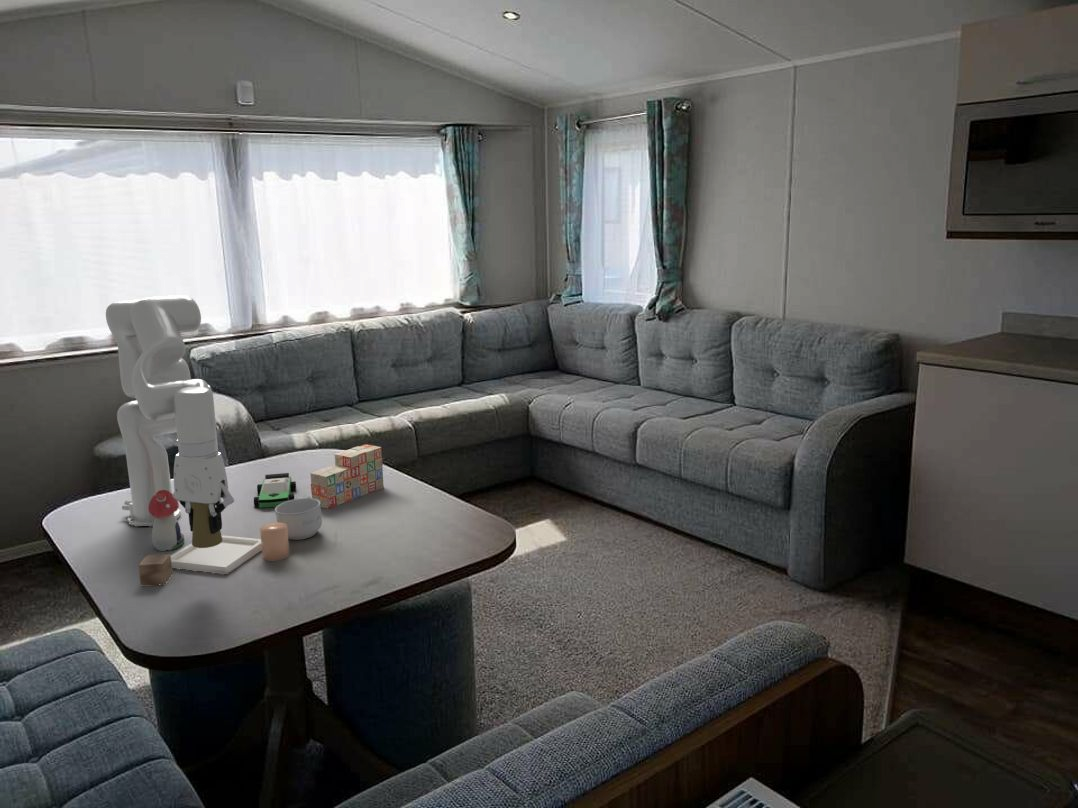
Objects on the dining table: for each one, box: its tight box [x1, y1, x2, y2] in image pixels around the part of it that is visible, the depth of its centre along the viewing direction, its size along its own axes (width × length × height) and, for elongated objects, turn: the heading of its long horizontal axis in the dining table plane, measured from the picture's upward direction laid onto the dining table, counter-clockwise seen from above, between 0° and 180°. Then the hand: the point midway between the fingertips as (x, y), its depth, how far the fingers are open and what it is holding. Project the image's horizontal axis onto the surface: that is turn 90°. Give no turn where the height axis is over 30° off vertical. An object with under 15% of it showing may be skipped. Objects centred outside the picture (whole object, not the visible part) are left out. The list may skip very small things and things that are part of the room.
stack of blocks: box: [310, 443, 384, 509], centre depth 233 cm, size 21×6×12 cm, turn 147°
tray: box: [170, 534, 262, 575], centre depth 194 cm, size 16×16×2 cm
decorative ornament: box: [148, 490, 185, 552], centre depth 199 cm, size 9×7×15 cm
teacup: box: [274, 495, 323, 541], centre depth 207 cm, size 14×11×8 cm
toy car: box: [253, 472, 297, 509], centre depth 234 cm, size 10×19×5 cm, turn 14°
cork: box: [190, 502, 222, 548], centre depth 176 cm, size 6×6×11 cm
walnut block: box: [138, 554, 174, 586], centre depth 182 cm, size 5×5×5 cm
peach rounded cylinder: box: [259, 521, 290, 562], centre depth 194 cm, size 6×6×7 cm
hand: (206, 529), depth 177 cm, fingers closed on cork, 4 cm apart
